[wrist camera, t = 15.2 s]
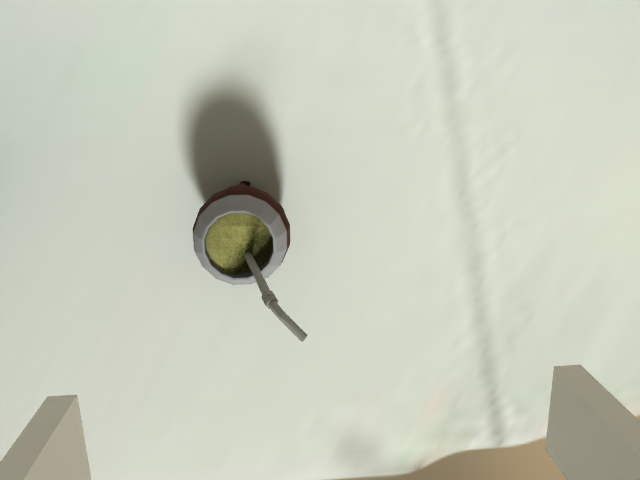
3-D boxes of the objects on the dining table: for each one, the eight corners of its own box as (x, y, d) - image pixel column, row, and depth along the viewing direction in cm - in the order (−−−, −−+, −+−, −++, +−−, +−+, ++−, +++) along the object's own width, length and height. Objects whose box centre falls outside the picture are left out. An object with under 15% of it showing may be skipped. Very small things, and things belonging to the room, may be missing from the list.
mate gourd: (201, 176, 45) (161, 222, 30) (299, 175, 45) (306, 219, 31) (206, 265, 47) (171, 347, 32) (300, 263, 47) (307, 343, 33)
